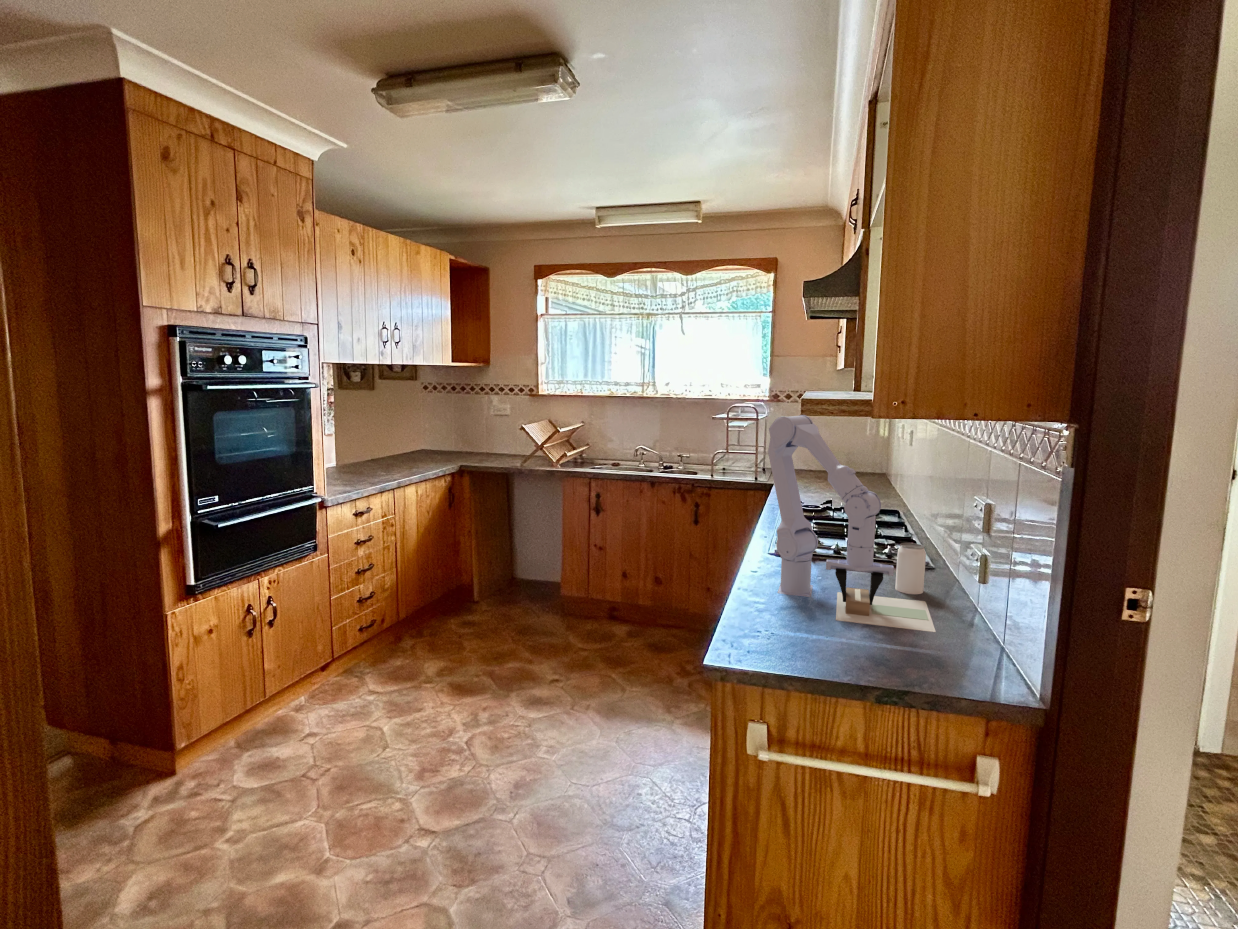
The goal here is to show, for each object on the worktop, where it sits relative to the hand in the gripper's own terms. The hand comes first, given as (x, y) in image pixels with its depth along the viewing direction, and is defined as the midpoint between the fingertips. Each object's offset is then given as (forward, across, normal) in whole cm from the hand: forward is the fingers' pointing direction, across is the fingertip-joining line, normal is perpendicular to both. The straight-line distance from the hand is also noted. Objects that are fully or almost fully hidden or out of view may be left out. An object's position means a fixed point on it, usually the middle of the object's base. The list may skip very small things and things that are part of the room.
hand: (857, 602), depth 153 cm
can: (+2, +12, +18) cm, 22 cm away
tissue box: (+1, 0, 0) cm, 1 cm away
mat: (+2, +6, 0) cm, 6 cm away
